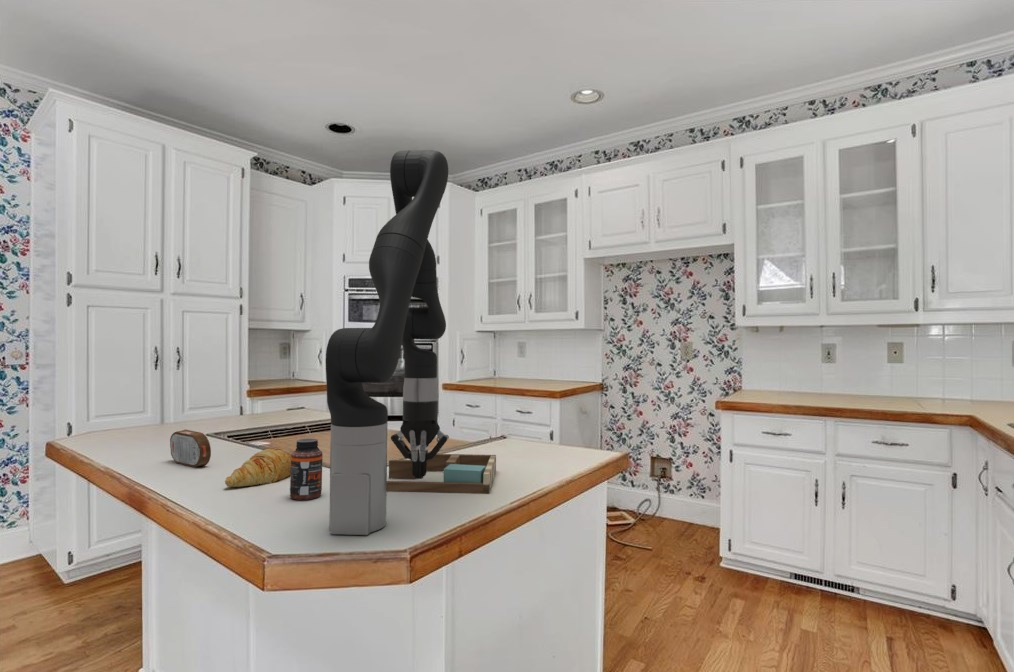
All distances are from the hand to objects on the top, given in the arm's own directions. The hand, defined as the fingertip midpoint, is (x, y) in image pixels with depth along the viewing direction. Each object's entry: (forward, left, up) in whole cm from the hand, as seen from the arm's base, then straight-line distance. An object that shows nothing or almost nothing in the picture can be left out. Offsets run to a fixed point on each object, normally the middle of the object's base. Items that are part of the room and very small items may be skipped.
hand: (419, 477), depth 116 cm
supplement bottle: (-11, +20, -2) cm, 23 cm away
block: (-1, -10, -2) cm, 10 cm away
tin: (+14, +61, -2) cm, 63 cm away
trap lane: (+4, -4, -2) cm, 6 cm away
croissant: (+3, +36, -2) cm, 36 cm away
